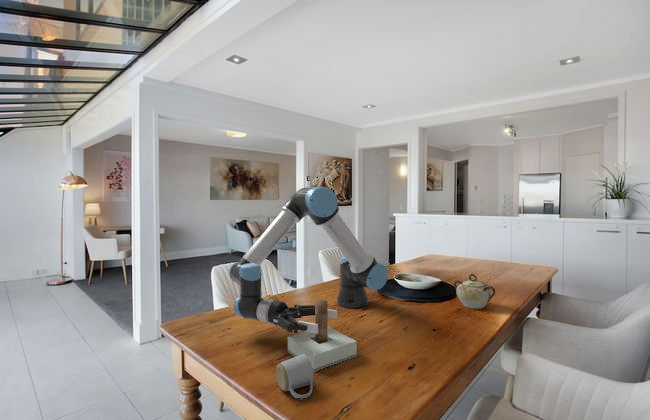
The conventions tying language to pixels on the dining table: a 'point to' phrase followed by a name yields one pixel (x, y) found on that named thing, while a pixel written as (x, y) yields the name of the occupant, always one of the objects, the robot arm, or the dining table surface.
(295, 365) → the ceramic mug
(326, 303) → the dowel
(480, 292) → the sugar bowl
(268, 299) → the tan rounded lump
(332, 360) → the socket block
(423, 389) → the dining table surface
